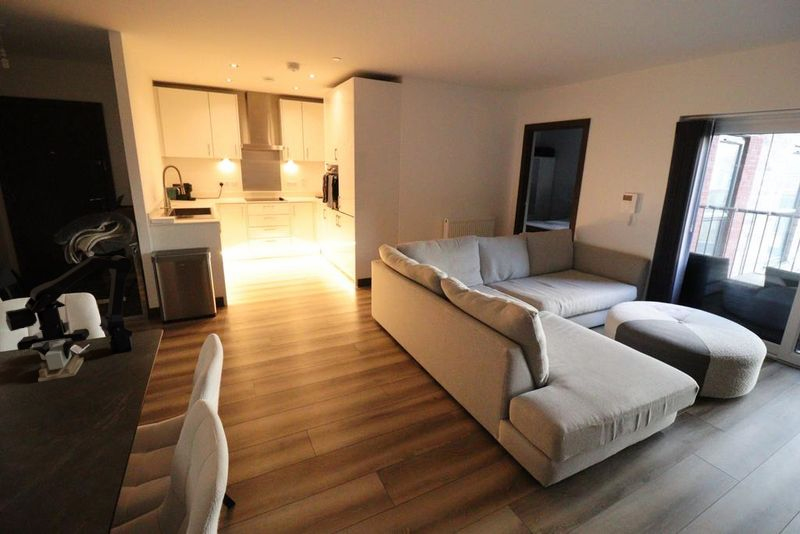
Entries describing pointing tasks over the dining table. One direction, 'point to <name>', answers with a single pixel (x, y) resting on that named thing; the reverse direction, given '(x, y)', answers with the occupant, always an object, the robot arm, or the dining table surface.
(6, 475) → the dining table surface
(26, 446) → the dining table surface
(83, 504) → the dining table surface
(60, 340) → the white cup
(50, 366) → the light grey block
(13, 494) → the dining table surface
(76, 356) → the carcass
